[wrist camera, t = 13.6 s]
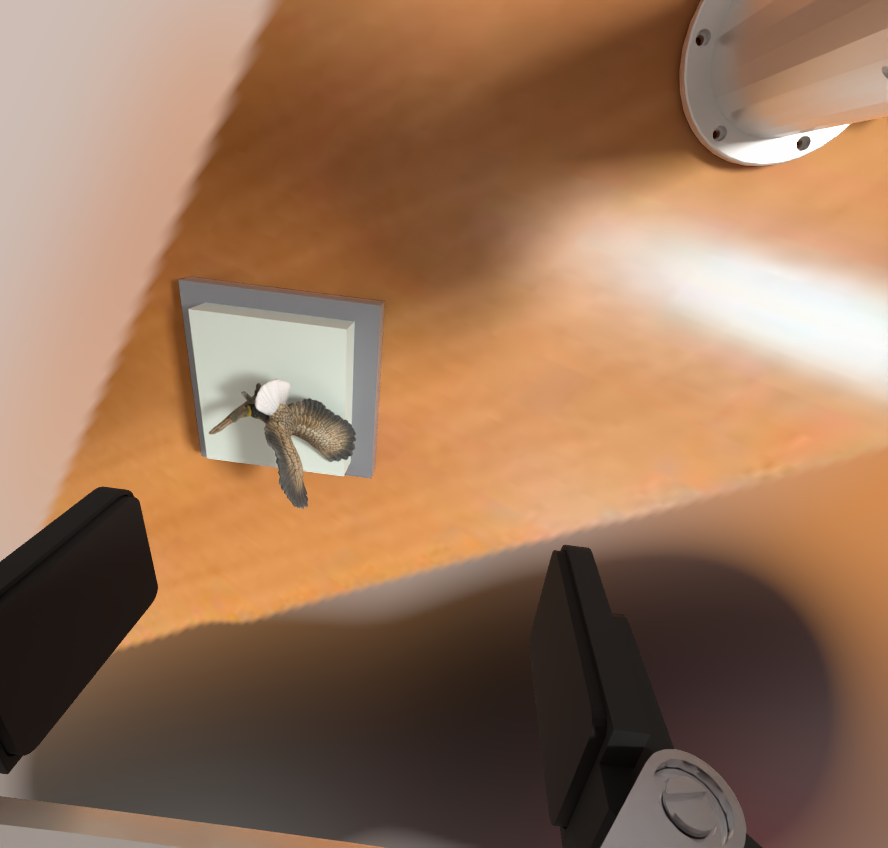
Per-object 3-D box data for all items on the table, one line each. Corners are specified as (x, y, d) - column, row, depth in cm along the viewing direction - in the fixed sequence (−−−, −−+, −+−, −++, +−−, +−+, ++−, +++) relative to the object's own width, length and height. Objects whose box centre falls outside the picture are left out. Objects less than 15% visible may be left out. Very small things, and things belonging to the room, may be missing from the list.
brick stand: (386, 299, 39) (374, 312, 34) (376, 464, 46) (365, 493, 41) (195, 275, 39) (158, 285, 35) (214, 443, 46) (186, 470, 42)
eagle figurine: (222, 436, 38) (304, 510, 39) (193, 428, 31) (294, 517, 32) (289, 371, 40) (368, 443, 41) (277, 349, 33) (371, 436, 34)
